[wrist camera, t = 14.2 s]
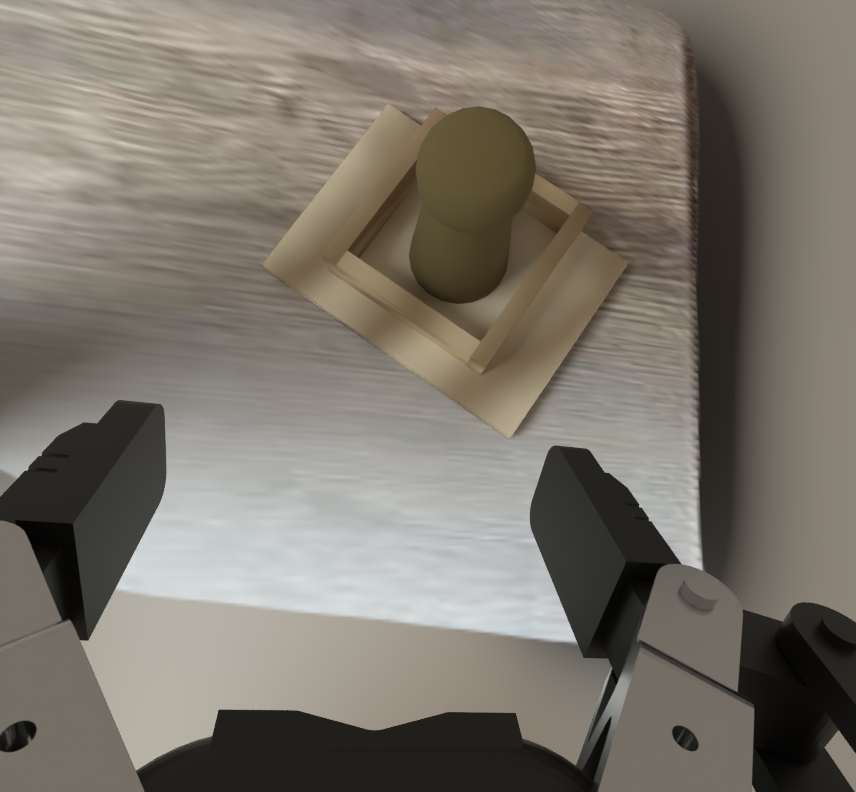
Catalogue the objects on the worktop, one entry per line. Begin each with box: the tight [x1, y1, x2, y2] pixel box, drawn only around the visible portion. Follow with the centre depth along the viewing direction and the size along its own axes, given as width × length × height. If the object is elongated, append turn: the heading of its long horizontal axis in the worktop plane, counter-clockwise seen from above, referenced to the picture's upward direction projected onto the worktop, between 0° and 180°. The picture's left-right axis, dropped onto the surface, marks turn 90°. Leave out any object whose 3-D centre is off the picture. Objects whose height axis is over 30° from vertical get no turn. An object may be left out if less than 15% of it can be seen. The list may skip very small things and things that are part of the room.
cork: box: [409, 107, 536, 304], centre depth 28 cm, size 6×6×11 cm
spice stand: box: [262, 104, 629, 438], centre depth 32 cm, size 18×13×4 cm
